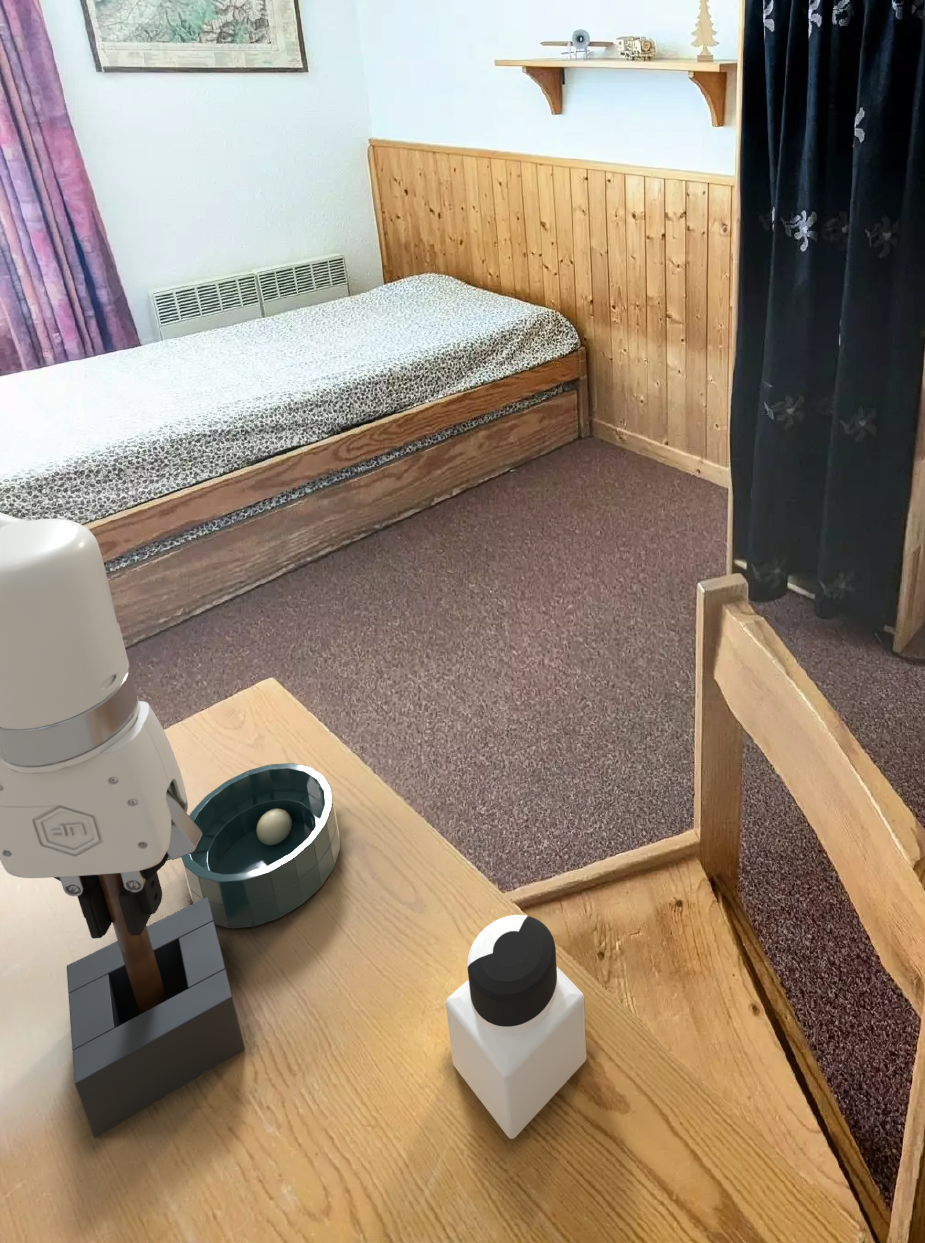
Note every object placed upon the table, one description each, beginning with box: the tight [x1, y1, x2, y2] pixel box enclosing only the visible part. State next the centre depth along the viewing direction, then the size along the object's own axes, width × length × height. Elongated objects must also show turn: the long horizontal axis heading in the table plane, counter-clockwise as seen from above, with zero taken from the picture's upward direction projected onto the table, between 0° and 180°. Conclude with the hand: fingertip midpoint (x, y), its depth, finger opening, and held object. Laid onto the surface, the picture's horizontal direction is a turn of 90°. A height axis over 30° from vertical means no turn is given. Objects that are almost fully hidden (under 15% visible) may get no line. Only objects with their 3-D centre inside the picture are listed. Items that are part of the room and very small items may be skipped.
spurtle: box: [98, 873, 167, 1014], centre depth 62 cm, size 2×2×18 cm
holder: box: [66, 897, 246, 1139], centre depth 64 cm, size 10×10×6 cm
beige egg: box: [256, 809, 292, 845], centre depth 80 cm, size 3×3×3 cm
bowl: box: [179, 762, 341, 929], centre depth 77 cm, size 12×12×6 cm
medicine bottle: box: [445, 914, 587, 1140], centre depth 61 cm, size 7×7×12 cm
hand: (127, 916), depth 61 cm, fingers closed on spurtle, 1 cm apart
